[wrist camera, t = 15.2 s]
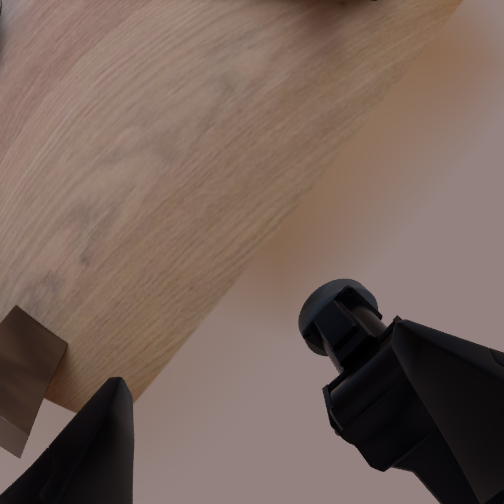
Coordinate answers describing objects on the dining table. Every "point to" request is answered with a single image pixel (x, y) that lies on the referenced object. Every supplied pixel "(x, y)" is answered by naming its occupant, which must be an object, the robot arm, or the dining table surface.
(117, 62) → the dining table surface
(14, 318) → the brown rectangular block
